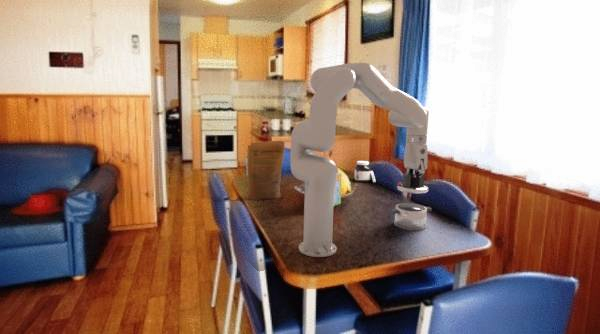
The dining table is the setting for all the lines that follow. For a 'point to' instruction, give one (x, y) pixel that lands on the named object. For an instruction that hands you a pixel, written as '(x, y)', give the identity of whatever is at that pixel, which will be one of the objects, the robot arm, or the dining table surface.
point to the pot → (410, 216)
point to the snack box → (336, 192)
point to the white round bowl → (406, 185)
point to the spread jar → (363, 172)
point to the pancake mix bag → (264, 169)
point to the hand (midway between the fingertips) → (412, 185)
